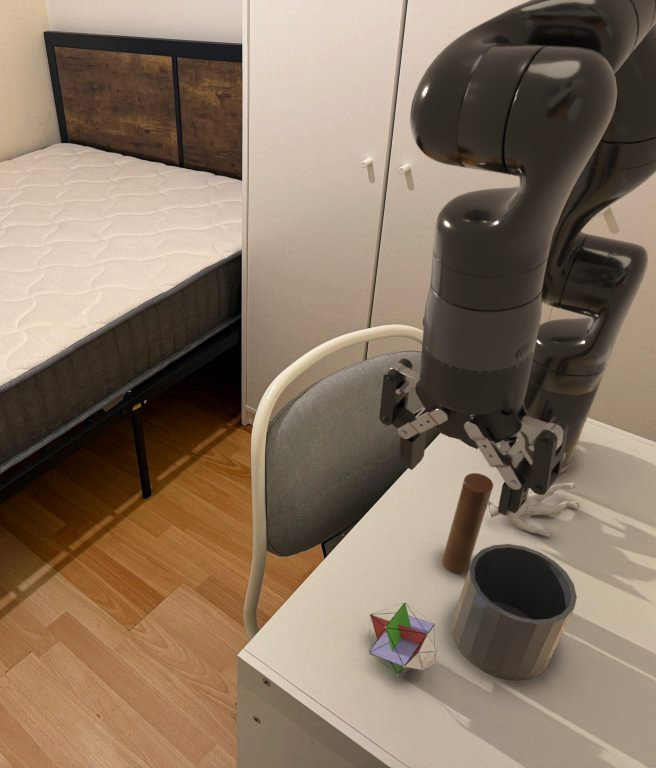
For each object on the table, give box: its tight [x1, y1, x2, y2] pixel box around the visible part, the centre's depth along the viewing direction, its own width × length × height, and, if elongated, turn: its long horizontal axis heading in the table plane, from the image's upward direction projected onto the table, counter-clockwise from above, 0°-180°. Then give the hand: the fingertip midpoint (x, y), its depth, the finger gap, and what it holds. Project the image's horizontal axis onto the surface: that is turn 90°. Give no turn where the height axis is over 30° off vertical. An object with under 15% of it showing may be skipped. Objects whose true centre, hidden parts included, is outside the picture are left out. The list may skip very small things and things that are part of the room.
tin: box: [451, 543, 578, 681], centre depth 78 cm, size 10×10×10 cm
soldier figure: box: [487, 482, 581, 537], centre depth 94 cm, size 8×5×12 cm
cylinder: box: [441, 472, 494, 575], centre depth 86 cm, size 3×3×14 cm
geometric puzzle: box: [367, 601, 437, 676], centre depth 79 cm, size 7×7×8 cm
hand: (458, 484), depth 63 cm, fingers open, 8 cm apart
